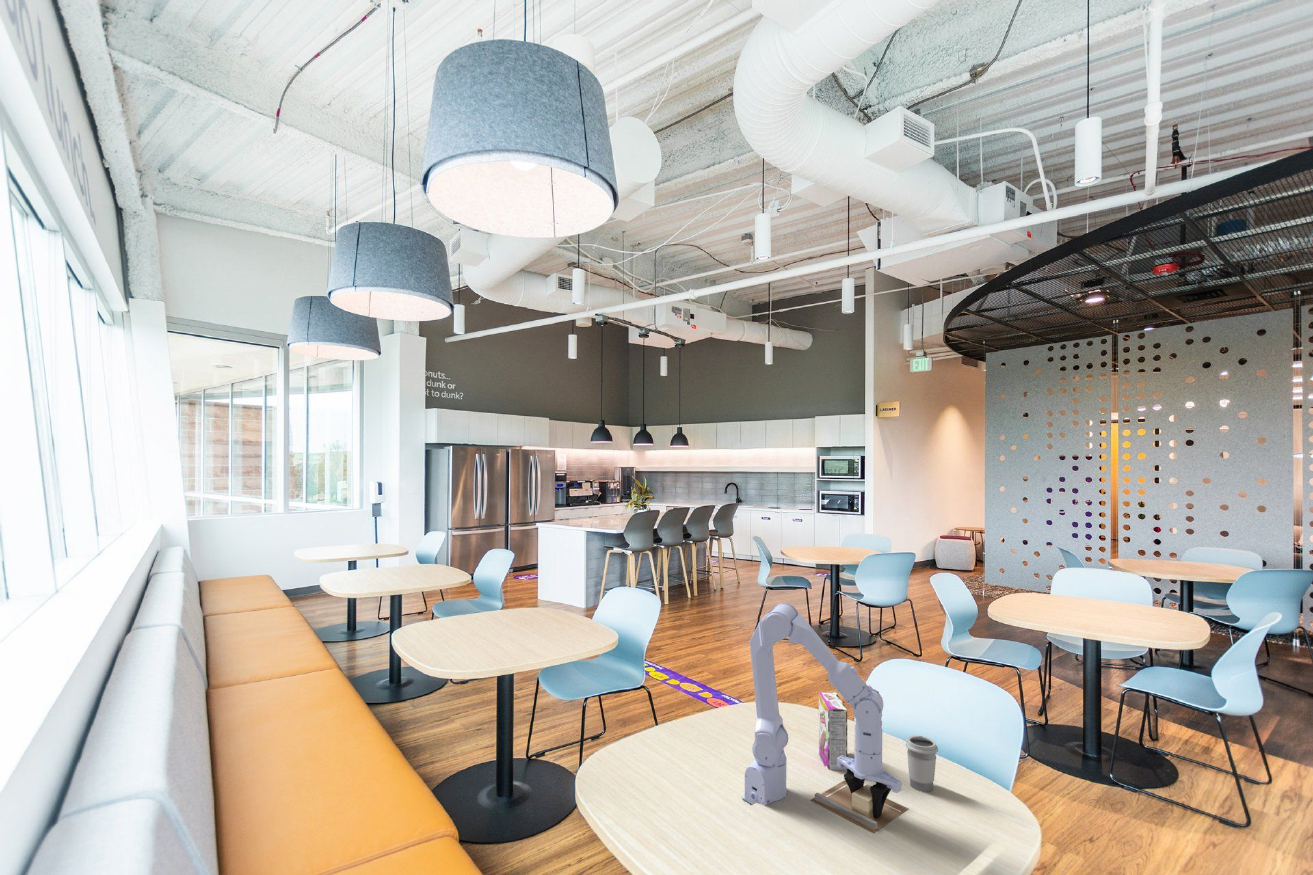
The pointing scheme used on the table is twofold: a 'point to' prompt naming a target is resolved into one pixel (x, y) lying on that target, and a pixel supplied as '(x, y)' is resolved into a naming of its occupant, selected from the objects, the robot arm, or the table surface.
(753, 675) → the robot arm
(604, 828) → the table surface
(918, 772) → the cup
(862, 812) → the block
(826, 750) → the candy bar box
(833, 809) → the walnut board
